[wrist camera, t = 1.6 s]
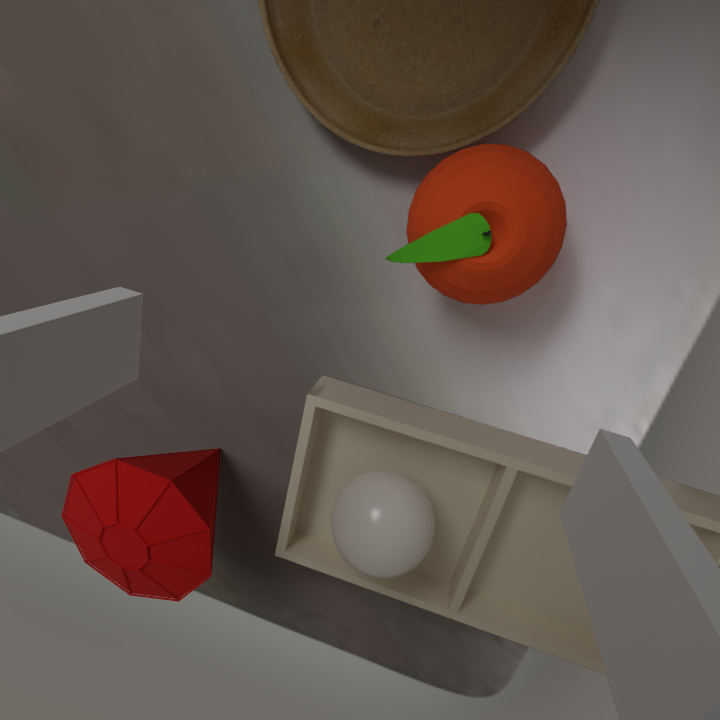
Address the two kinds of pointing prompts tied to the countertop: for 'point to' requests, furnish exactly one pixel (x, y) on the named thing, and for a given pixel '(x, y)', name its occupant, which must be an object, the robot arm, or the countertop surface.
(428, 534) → the white ball
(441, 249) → the clementine
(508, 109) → the plant saucer
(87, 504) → the gemstone
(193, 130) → the countertop surface
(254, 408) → the countertop surface
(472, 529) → the divided tray
